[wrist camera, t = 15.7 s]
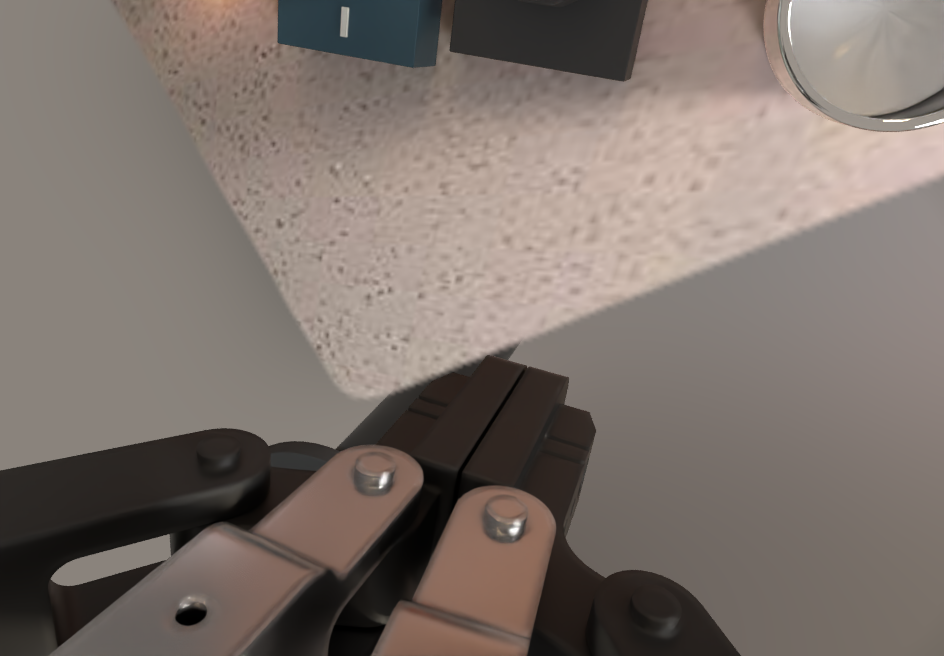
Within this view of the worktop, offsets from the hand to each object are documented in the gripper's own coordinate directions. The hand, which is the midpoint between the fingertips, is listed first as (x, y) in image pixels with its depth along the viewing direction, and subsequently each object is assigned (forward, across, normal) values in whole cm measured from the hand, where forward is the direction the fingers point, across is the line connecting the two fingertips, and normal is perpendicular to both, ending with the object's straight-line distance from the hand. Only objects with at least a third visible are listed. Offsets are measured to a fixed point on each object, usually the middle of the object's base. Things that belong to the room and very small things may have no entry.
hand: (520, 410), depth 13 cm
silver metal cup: (+27, -6, -8) cm, 29 cm away
